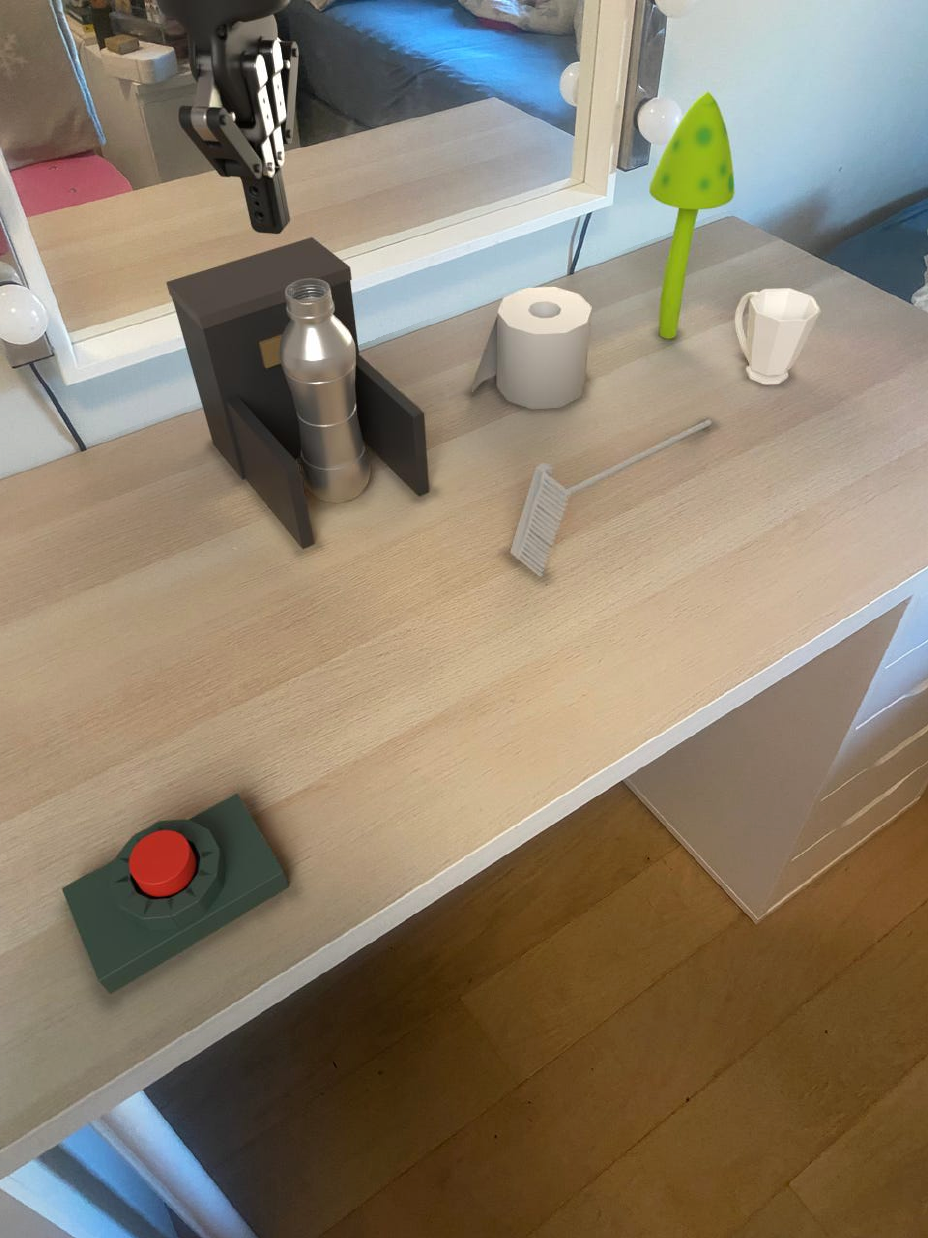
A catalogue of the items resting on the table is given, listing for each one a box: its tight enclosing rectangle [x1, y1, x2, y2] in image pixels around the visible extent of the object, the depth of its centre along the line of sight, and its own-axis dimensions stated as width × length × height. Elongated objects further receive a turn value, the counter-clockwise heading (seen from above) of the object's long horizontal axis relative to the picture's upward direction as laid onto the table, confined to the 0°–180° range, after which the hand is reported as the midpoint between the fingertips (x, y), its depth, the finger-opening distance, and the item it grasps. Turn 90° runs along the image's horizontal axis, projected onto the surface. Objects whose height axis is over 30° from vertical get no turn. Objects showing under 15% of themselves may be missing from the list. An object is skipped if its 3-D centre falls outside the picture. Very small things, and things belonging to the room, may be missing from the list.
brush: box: [509, 419, 712, 578], centre depth 82 cm, size 4×27×9 cm, turn 133°
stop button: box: [129, 830, 196, 897], centre depth 54 cm, size 4×4×2 cm
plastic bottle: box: [279, 278, 371, 504], centre depth 77 cm, size 6×7×20 cm
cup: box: [734, 287, 822, 386], centre depth 94 cm, size 7×10×8 cm
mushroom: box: [648, 91, 735, 339], centre depth 93 cm, size 8×8×25 cm
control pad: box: [61, 792, 290, 995], centre depth 56 cm, size 12×7×4 cm, turn 124°
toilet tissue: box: [470, 286, 593, 410], centre depth 92 cm, size 9×13×9 cm
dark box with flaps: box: [165, 236, 430, 550], centre depth 81 cm, size 19×14×17 cm
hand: (271, 228), depth 60 cm, fingers closed
